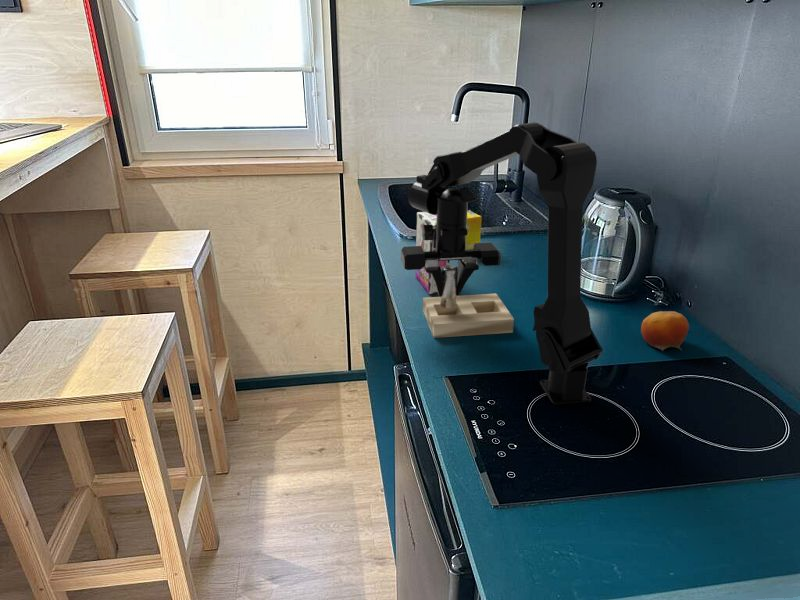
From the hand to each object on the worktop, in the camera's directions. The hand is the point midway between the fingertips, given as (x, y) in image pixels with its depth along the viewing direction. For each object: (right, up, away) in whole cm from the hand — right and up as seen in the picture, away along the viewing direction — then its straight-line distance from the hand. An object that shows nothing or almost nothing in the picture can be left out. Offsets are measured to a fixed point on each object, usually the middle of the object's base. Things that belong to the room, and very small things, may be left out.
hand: (448, 295), depth 113 cm
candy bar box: (-2, +3, +20) cm, 20 cm away
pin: (0, -2, +1) cm, 2 cm away
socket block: (+4, -5, +3) cm, 7 cm away
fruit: (+41, -9, -5) cm, 42 cm away
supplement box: (+8, +11, +38) cm, 41 cm away
